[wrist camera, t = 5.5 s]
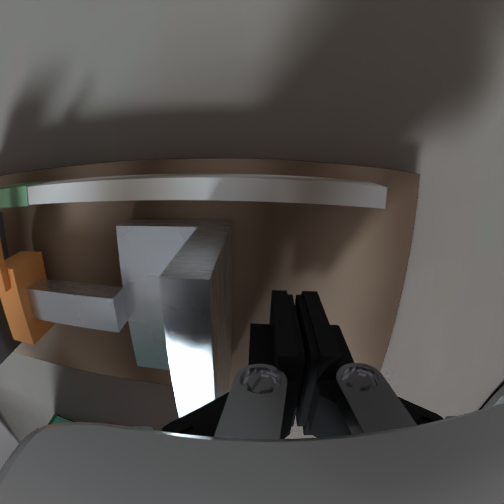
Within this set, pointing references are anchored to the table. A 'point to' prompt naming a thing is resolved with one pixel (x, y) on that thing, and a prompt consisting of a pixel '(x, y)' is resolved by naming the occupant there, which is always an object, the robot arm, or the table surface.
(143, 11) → the table surface
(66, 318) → the plunger
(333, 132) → the table surface
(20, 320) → the pointer
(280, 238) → the base
